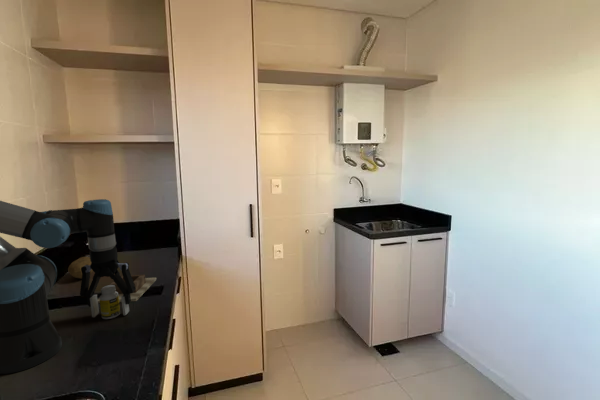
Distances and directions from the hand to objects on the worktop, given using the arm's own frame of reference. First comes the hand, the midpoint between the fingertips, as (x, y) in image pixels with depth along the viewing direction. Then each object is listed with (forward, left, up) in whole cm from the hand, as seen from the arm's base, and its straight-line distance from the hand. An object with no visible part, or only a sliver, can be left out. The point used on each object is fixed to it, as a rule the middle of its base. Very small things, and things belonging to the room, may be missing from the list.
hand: (111, 314), depth 107 cm
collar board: (+20, +3, 0) cm, 20 cm away
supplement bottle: (0, 0, -1) cm, 1 cm away
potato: (+38, +30, -1) cm, 48 cm away
